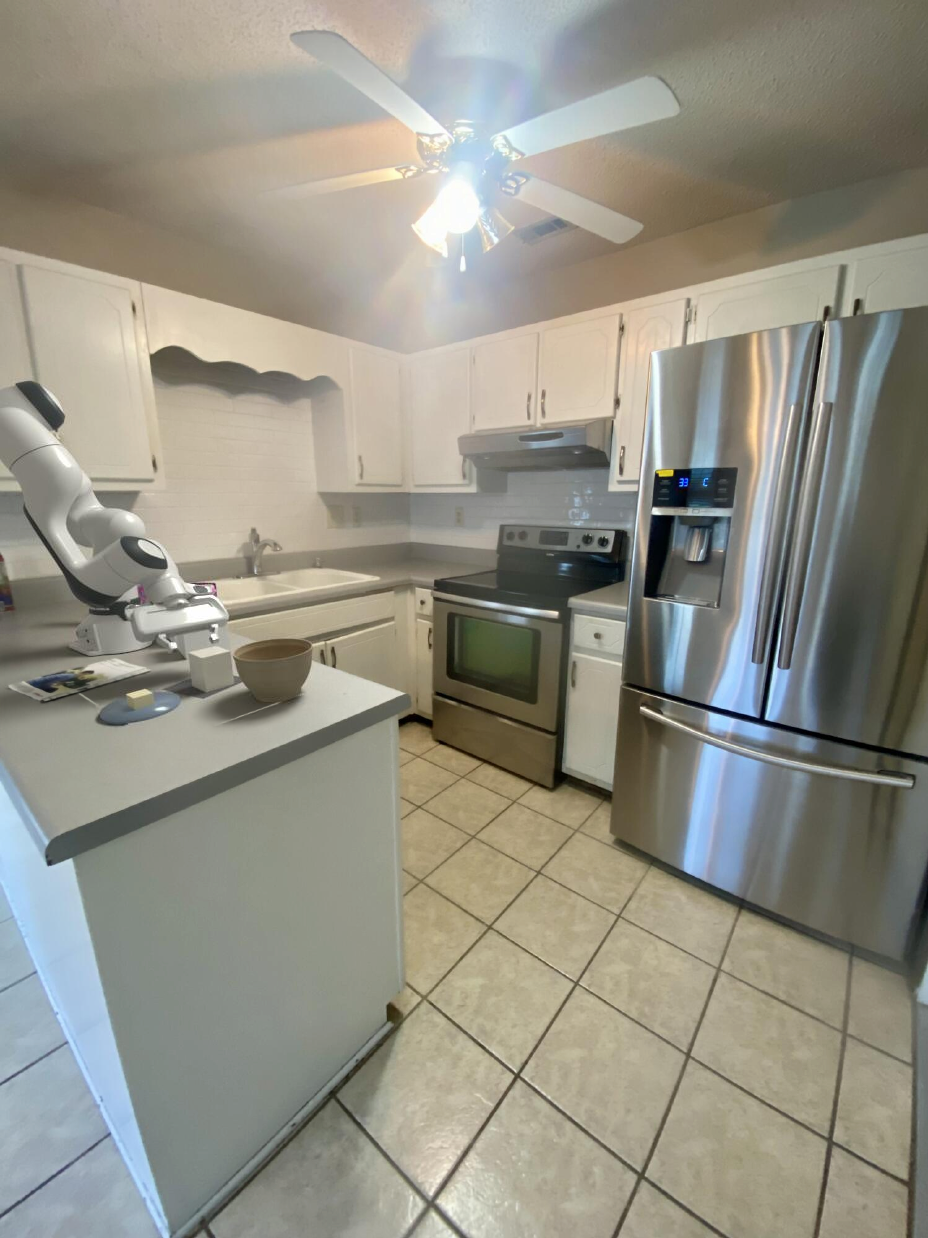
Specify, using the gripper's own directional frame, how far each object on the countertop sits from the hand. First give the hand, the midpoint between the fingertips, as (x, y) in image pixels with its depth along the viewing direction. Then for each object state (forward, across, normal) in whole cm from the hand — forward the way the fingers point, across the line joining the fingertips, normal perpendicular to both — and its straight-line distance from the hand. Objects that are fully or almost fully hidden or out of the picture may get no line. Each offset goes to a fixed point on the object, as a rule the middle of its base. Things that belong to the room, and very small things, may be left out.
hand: (195, 646), depth 116 cm
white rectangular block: (+9, +1, +3) cm, 10 cm away
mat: (+8, 0, +5) cm, 9 cm away
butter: (+10, -14, +3) cm, 18 cm away
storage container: (-16, +14, +28) cm, 35 cm away
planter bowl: (+21, +7, -8) cm, 23 cm away
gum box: (-37, +23, +49) cm, 65 cm away
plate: (+10, -14, +3) cm, 18 cm away
